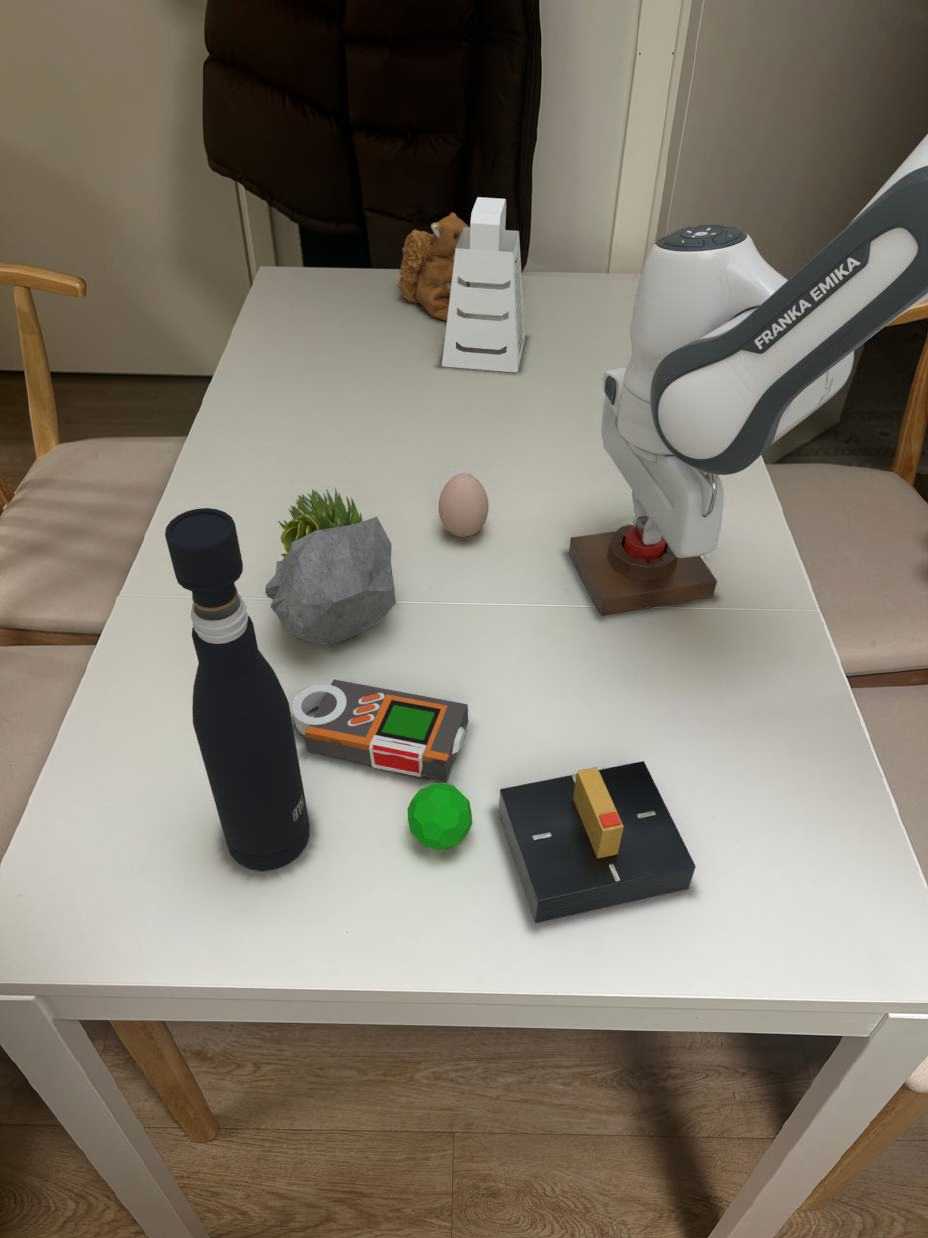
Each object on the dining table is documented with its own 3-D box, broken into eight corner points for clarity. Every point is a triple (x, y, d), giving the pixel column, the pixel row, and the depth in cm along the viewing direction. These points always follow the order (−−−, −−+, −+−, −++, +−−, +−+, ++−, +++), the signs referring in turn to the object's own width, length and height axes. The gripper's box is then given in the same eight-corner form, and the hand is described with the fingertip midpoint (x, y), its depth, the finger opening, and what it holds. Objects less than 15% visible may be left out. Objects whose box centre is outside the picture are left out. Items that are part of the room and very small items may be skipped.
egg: (443, 550, 99) (443, 493, 94) (434, 520, 103) (434, 464, 98) (492, 545, 100) (494, 487, 95) (481, 515, 104) (483, 459, 99)
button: (654, 535, 96) (657, 521, 95) (669, 559, 93) (672, 545, 92) (617, 540, 95) (620, 526, 94) (632, 564, 92) (634, 551, 91)
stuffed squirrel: (459, 326, 138) (460, 235, 129) (380, 303, 143) (376, 215, 134) (493, 302, 144) (496, 214, 135) (416, 281, 149) (415, 195, 140)
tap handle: (572, 798, 72) (577, 768, 69) (592, 794, 72) (597, 764, 70) (597, 859, 68) (603, 829, 65) (617, 854, 68) (624, 824, 66)
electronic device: (307, 671, 82) (471, 702, 79) (312, 694, 84) (472, 725, 81) (276, 727, 78) (448, 762, 74) (281, 750, 80) (450, 785, 76)
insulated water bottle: (222, 812, 74) (137, 504, 54) (302, 793, 76) (249, 486, 55) (232, 881, 70) (144, 572, 49) (317, 859, 71) (265, 551, 51)
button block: (673, 537, 101) (679, 507, 98) (713, 597, 94) (721, 566, 91) (568, 553, 99) (571, 523, 96) (600, 615, 92) (605, 585, 89)
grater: (525, 337, 135) (533, 193, 122) (517, 372, 128) (526, 223, 114) (453, 332, 136) (454, 188, 123) (441, 366, 129) (441, 217, 115)
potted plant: (261, 655, 82) (209, 528, 89) (359, 668, 93) (306, 554, 99) (349, 570, 78) (287, 442, 84) (442, 593, 88) (380, 478, 94)
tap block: (638, 783, 77) (644, 759, 75) (688, 889, 70) (696, 865, 68) (498, 811, 75) (499, 787, 72) (535, 923, 68) (538, 900, 65)
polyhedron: (407, 809, 75) (406, 772, 71) (469, 806, 75) (470, 769, 72) (409, 863, 71) (407, 827, 68) (473, 860, 71) (475, 823, 68)
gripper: (754, 472, 77) (721, 598, 86) (657, 357, 91) (638, 475, 101) (683, 481, 76) (657, 608, 85) (596, 363, 90) (582, 483, 100)
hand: (646, 535), depth 93 cm, fingers closed, pressing on button
